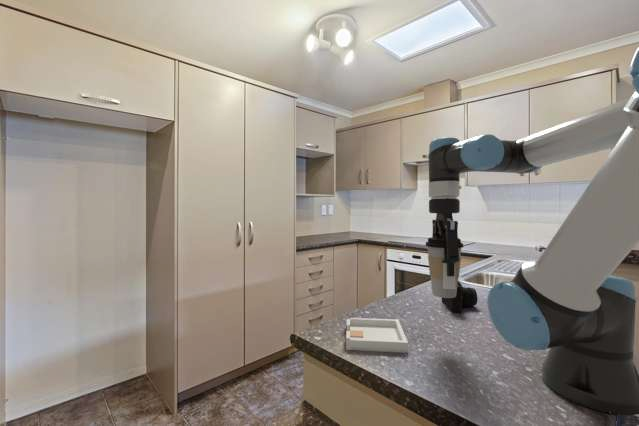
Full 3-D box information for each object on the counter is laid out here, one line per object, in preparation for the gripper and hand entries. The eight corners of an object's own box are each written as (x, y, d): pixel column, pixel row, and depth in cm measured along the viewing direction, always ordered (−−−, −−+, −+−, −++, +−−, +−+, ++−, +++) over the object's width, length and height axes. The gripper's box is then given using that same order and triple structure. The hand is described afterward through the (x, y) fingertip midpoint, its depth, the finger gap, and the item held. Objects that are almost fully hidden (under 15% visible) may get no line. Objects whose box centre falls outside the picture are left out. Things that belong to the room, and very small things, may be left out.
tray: (407, 352, 74) (408, 342, 74) (346, 349, 76) (346, 339, 76) (398, 328, 89) (398, 319, 89) (346, 325, 91) (346, 317, 91)
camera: (483, 315, 100) (484, 284, 100) (449, 313, 102) (449, 283, 101) (468, 301, 114) (469, 275, 114) (439, 300, 116) (439, 274, 115)
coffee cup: (444, 289, 87) (444, 236, 87) (472, 297, 78) (472, 239, 78) (417, 292, 84) (417, 237, 83) (443, 302, 75) (443, 240, 75)
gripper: (474, 196, 70) (474, 295, 70) (446, 199, 91) (446, 276, 91) (440, 196, 71) (441, 294, 71) (420, 199, 91) (420, 275, 92)
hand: (444, 284), depth 81 cm, fingers closed on coffee cup, 8 cm apart
